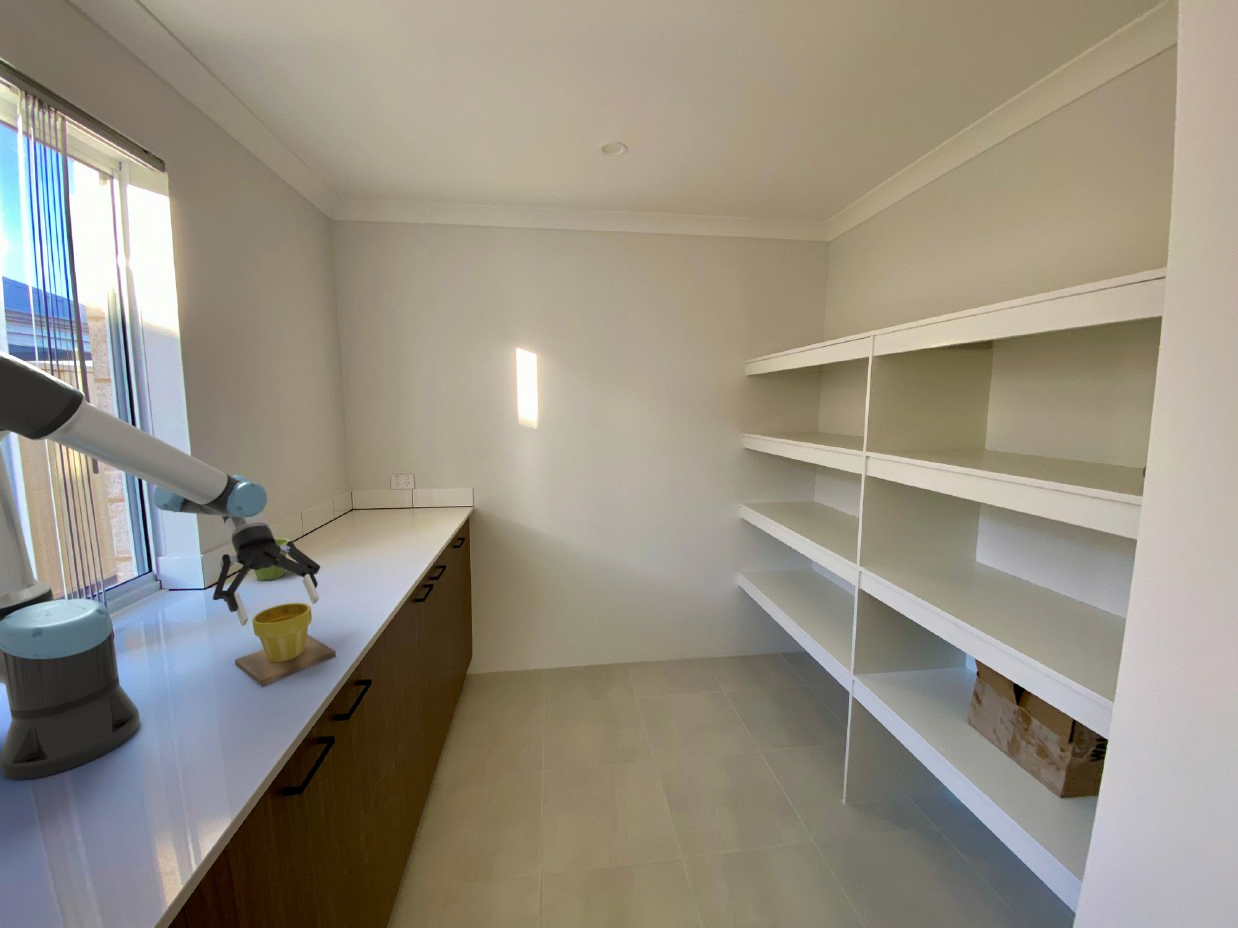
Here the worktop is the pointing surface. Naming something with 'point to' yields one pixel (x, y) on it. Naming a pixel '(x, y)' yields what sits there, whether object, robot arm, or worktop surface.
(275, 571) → the plant pot
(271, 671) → the walnut board
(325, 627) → the worktop surface
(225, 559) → the robot arm
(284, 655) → the plant pot
